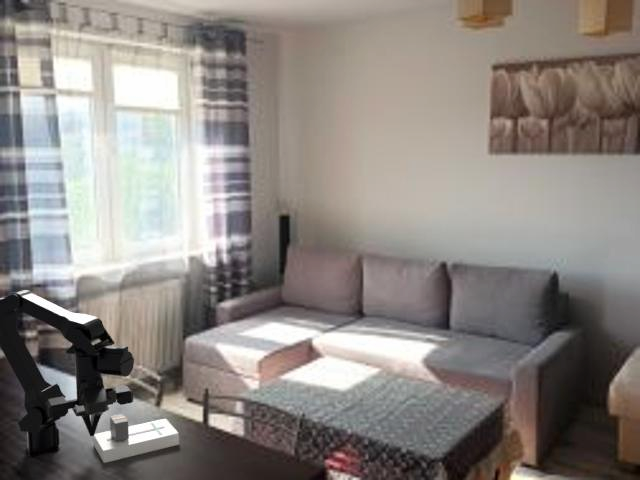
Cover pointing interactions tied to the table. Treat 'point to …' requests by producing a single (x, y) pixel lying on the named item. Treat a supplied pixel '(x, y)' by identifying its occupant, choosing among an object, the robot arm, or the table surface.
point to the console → (137, 440)
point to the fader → (119, 427)
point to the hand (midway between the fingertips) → (91, 435)
